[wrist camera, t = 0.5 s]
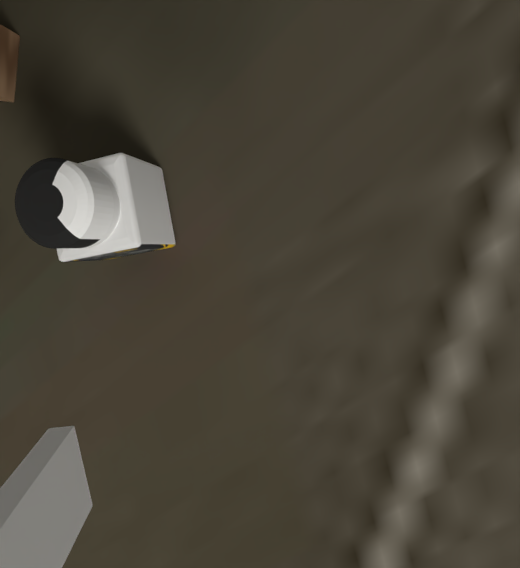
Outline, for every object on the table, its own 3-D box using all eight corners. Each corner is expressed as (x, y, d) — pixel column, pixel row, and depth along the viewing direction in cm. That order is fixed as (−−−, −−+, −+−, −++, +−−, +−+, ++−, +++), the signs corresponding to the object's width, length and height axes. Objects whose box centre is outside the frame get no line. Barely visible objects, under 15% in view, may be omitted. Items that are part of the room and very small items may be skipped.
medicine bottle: (106, 260, 44) (11, 265, 32) (91, 183, 44) (-10, 160, 32) (177, 246, 42) (104, 246, 31) (162, 166, 42) (83, 135, 30)
